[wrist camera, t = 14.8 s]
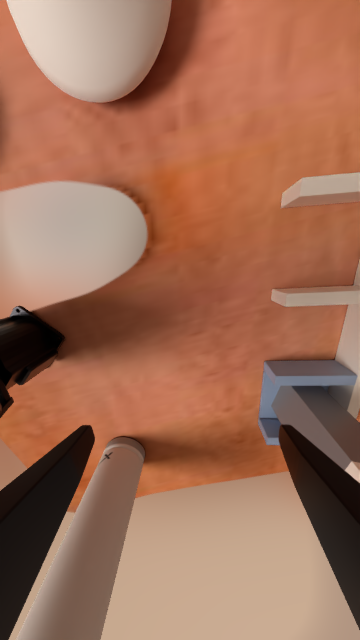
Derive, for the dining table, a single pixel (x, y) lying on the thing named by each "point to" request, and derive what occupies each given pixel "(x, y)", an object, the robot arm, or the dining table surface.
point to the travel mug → (89, 552)
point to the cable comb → (356, 338)
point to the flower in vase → (93, 42)
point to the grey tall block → (321, 423)
